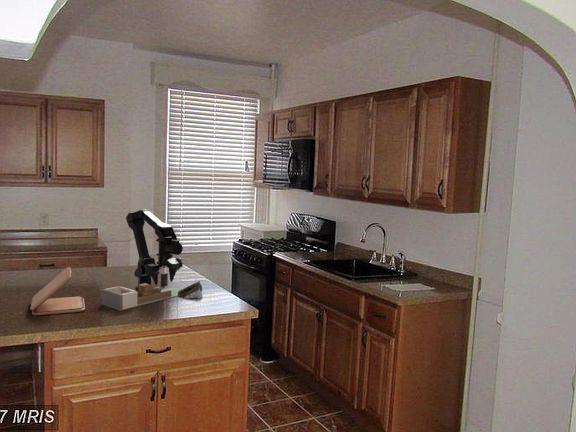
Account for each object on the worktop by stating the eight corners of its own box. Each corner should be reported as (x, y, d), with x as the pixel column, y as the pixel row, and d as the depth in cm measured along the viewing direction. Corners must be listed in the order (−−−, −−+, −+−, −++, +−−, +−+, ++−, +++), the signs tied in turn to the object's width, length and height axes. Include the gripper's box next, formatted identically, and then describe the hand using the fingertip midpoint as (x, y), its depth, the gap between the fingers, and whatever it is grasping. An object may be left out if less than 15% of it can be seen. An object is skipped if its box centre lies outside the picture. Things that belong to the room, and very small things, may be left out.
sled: (138, 297, 230) (138, 277, 229) (163, 291, 242) (163, 272, 241) (145, 299, 227) (145, 279, 226) (169, 293, 239) (170, 274, 238)
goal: (102, 303, 220) (102, 289, 219) (119, 299, 227) (119, 285, 226) (120, 310, 212) (120, 295, 211) (137, 305, 219) (137, 291, 218)
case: (32, 302, 218) (32, 267, 216) (84, 299, 227) (84, 264, 225) (29, 317, 200) (28, 278, 198) (85, 313, 208) (85, 275, 206)
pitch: (102, 304, 220) (102, 298, 219) (172, 288, 252) (172, 283, 251) (120, 310, 212) (120, 304, 212) (190, 293, 244) (190, 287, 244)
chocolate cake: (178, 301, 232) (197, 284, 232) (175, 293, 238) (194, 276, 238) (191, 311, 237) (210, 295, 237) (189, 303, 243) (207, 287, 243)
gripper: (160, 256, 225) (159, 290, 226) (190, 251, 240) (189, 283, 241) (144, 253, 231) (143, 285, 233) (175, 248, 246) (174, 279, 248)
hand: (163, 283), depth 239 cm, fingers open, 9 cm apart
